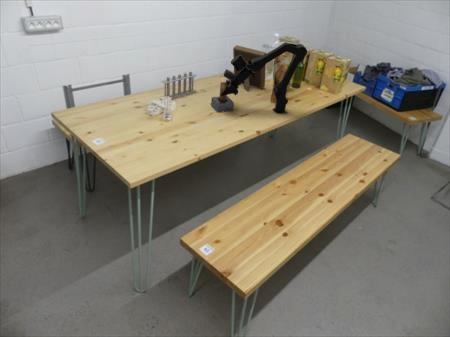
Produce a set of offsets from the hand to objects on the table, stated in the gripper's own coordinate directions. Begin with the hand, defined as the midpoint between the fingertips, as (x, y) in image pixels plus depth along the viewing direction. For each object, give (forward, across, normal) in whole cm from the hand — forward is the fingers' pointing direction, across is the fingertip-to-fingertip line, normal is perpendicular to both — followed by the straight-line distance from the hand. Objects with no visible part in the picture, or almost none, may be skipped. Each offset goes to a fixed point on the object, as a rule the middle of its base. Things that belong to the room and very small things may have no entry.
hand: (220, 94), depth 206 cm
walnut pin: (+4, 0, +6) cm, 7 cm away
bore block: (+5, 0, +7) cm, 9 cm away
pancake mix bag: (-20, -19, +33) cm, 43 cm away
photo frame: (-7, -39, +20) cm, 44 cm away
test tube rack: (+24, -16, -11) cm, 30 cm away
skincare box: (-25, -37, +38) cm, 58 cm away
